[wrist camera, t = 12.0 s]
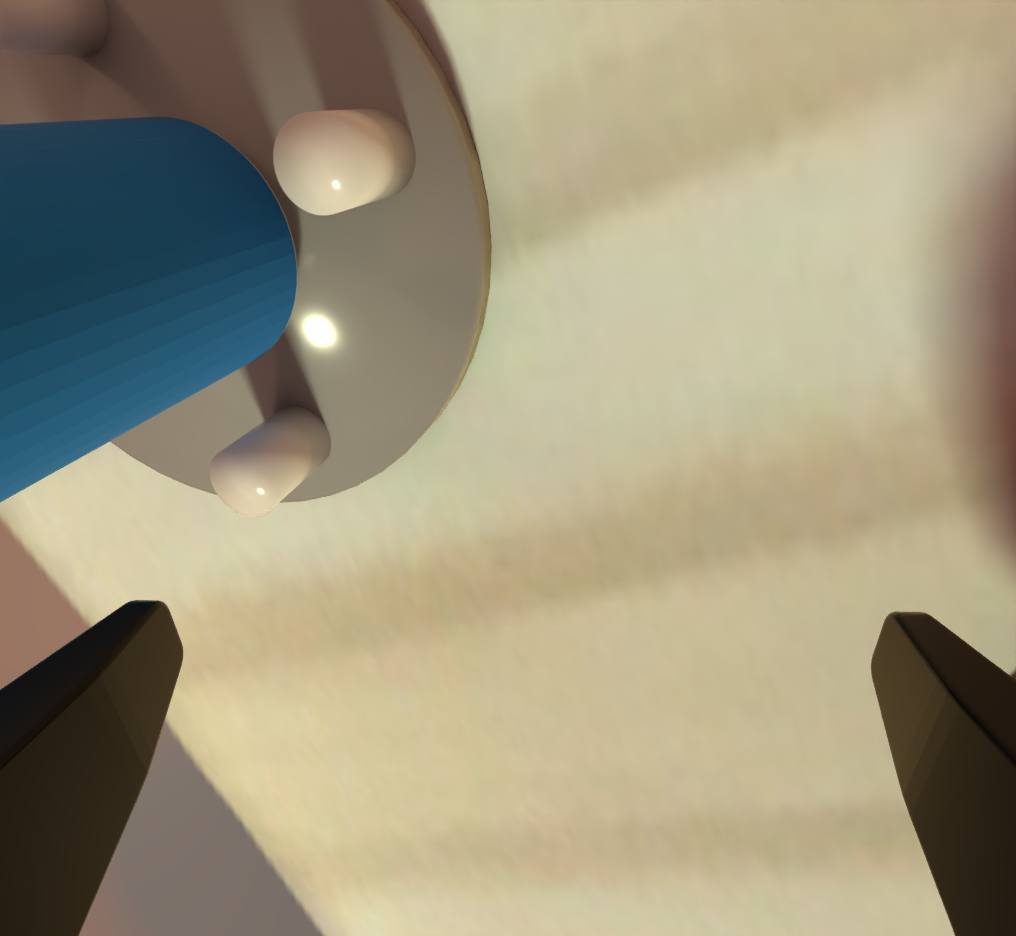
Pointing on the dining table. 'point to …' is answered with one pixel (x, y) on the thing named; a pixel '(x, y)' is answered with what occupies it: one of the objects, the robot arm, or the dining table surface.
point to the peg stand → (295, 218)
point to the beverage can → (126, 279)
